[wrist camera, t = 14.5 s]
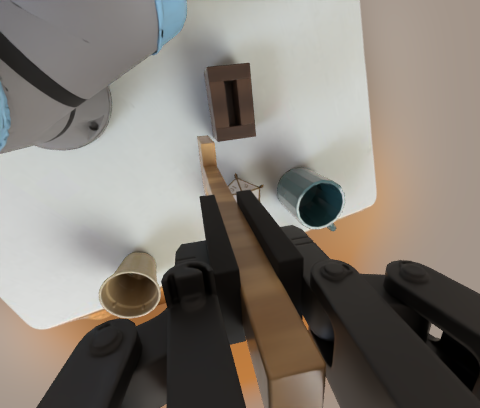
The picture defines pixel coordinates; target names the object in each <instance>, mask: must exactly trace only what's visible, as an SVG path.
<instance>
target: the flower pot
mask: <svg viewBox="0 0 480 408" xmlns="http://www.w3.org/2000/svg"><path fill="white" fill-rule="evenodd" d="M130 273H132V275H131V274H130ZM160 297H161V291H160V287H159V285H158V283H157V279H156V262H155V260H154V259H153V257H152V256H150V255H149V254H147V253H132V254H130V255H128V256H127V257H126V258H125V259H124V260H123V262H122V263H121V265H120V266H119V267H118V269H117V270H116V272H115V273H114V274H113V275H112V276H110V277H109V278H107V279H106V280H105V281H104V283H103V284H102V286H101V288H100V290H99V300H100V303H101V305H102V306H103V308H104V309H105V310H106V311H108V312H109V313H110V314H113V315H115V316H118V317H123V318H135V317H140V316H143V315H146V314H148V313H149V312H151V311H152V310H153V309H154V308H155V307H156V306H157V304H158V303H159V300H160Z"/></svg>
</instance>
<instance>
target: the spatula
mask: <svg viewBox="0 0 480 408" xmlns="http://www.w3.org/2000/svg"><path fill="white" fill-rule="evenodd" d="M197 139H198V147H199V155H200V164H201V172H202V180H203V186H204V191H205V195H206V196H207V195H215V198H216V201H217V204H218V207H219V210H220V213H221V216H222V219H223V222H224V225H225V228H226V231H227V234H228V237H229V240H230V243H231V246H232V249H233V252H234V255H235V258H236V261H237V264H238V267H239V272H240V283H241V287H240V296H241V309H242V322H243V329H244V332H245V336H246V340H247V344H248V347H249V351H250V355H251V359H252V362H253V366H254V370H255V374H256V378H257V382H258V385H259V389H260V393H261V397H262V400H263V404H264V408H323V400H324V387H325V377H326V362H325V361H324V359H323V357H322V355H321V353H320V352H319V350H318V348H317V346H316V344H315V343H314V341H313V339H312V337H311V335H310V334H309V332H308V330H307V328H306V326H305V325H304V323H303V321H302V319H301V317H300V315H299V314H298V312H297V310H296V308H295V306H294V305H293V303H292V301H291V299H290V297H289V296H288V294H287V292H286V290H285V288H284V287H283V285H282V283H281V281H280V279H279V278H278V276H277V275H276V273H275V271H274V269H273V267H272V265H271V264H270V262H269V260H268V258H267V256H266V255H265V253H264V251H263V249H262V247H261V246H260V244H259V242H258V240H257V238H256V237H255V235H254V233H253V231H252V229H251V227H250V226H249V224H248V222H247V220H246V218H245V217H244V215H243V213H242V211H241V209H240V208H239V206H238V204H237V202H236V200H235V198H234V197H233V195H232V193H231V191H230V189H229V188H228V186H227V184H226V182H225V180H224V179H223V177H222V175H221V173H220V171H219V170H218V168H217V163H216V153H215V143H214V142H213V141H212V140H211V139H210V137H209V136H208V135H207V136H197Z"/></svg>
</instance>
